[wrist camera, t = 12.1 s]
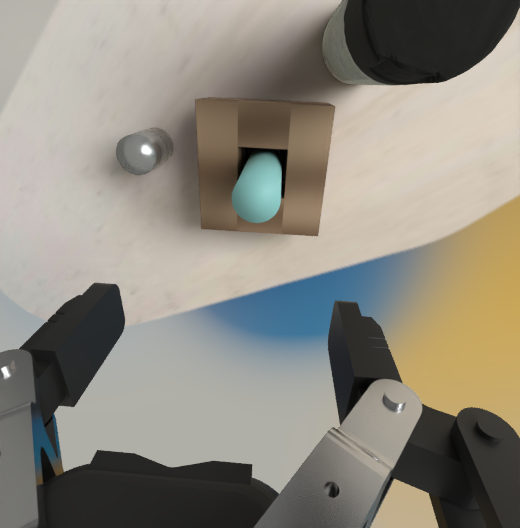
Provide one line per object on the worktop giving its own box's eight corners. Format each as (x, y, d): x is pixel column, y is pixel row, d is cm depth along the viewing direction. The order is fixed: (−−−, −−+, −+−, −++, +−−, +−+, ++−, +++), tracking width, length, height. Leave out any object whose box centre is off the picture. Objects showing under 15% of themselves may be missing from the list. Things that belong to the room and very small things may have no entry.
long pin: (249, 143, 36) (231, 173, 24) (283, 144, 36) (282, 176, 23) (249, 176, 38) (231, 221, 25) (281, 178, 37) (279, 224, 25)
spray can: (374, 94, 33) (475, 105, 15) (309, 72, 32) (337, 58, 15) (407, 14, 30) (582, -87, 12) (336, -12, 29) (412, -157, 12)
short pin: (138, 127, 36) (113, 134, 31) (171, 128, 36) (151, 136, 30) (142, 161, 38) (119, 173, 32) (174, 163, 37) (156, 176, 32)
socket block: (209, 97, 34) (195, 99, 29) (327, 102, 34) (335, 106, 28) (212, 209, 40) (201, 228, 34) (313, 215, 39) (317, 236, 34)
